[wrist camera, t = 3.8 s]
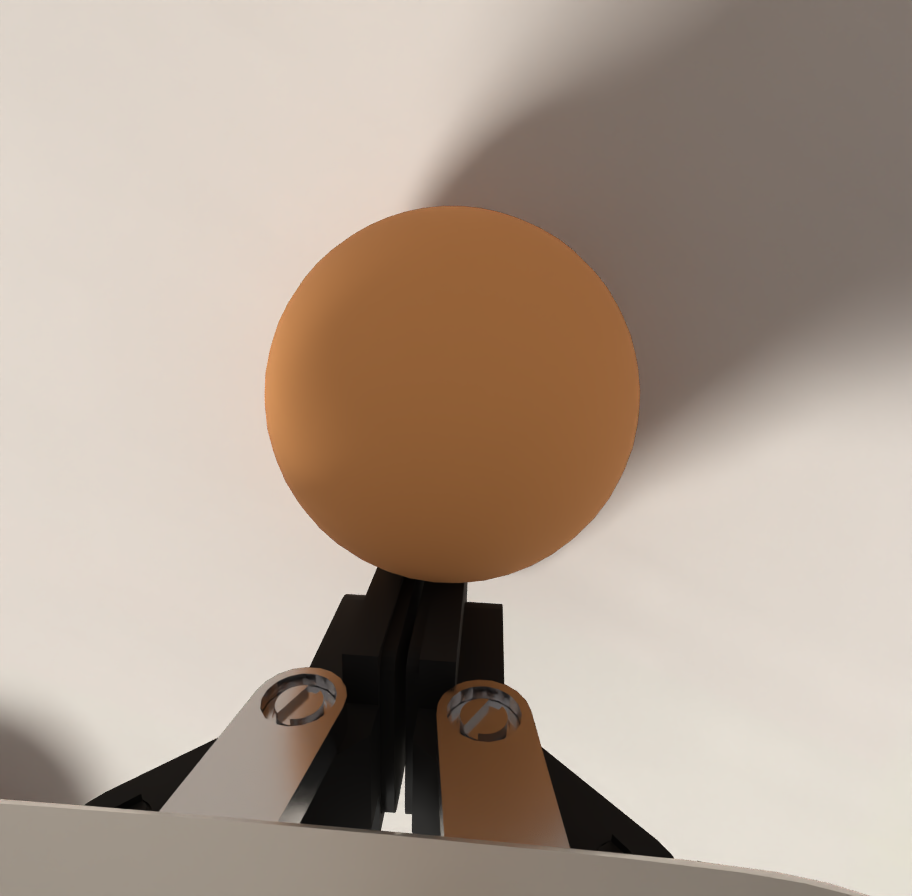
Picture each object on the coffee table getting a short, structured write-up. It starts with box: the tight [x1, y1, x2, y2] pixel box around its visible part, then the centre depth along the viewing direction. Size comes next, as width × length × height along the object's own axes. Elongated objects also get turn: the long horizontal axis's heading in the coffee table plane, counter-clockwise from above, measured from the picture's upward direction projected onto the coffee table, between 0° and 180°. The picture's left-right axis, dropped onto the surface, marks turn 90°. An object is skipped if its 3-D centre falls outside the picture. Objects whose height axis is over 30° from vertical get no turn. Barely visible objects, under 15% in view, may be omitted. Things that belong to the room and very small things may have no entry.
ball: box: [265, 206, 640, 583], centre depth 10 cm, size 6×6×6 cm
